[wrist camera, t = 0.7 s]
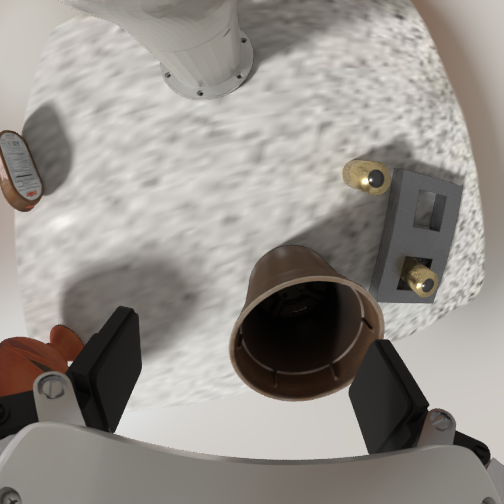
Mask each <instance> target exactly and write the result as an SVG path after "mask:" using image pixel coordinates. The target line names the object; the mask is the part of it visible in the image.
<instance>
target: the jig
mask: <svg viewBox="0 0 504 504" xmlns="http://www.w3.org/2000/svg"><path fill="white" fill-rule="evenodd" d="M462 188H463V187H462V186H459V185H456V184H453V183H450V182H447V181H443V180H440V179H437V178H433V177H430V176H426V175H422V174H419V173H415V172H411V171H407V170H403V169H397V168H394V172H393V179H392V186H391V192H390V198H389V204H388V210H387V215H386V220H385V225H384V230H383V235H382V240H381V244H380V249H379V253H378V257H377V262H376V266H375V270H374V274H373V278H372V281H371V285H370V289H369V293H370V294H371V295H372V296H373V297H374V298H375V300H376V301H377V302H387V303H433V302H434V299H435V296H436V293H437V290H438V287H439V284H440V281H441V278H442V275H443V271H444V268H445V265H446V261H447V258H448V254H449V250H450V246H451V242H452V238H453V234H454V230H455V225H456V221H457V216H458V211H459V206H460V200H461V194H462ZM419 189H420V190H424V191H428V192H432V193H436V197H435V203H434V208H433V214H432V219H431V223H430V227H428V226H422V225H417V224H413V222H414V217H415V212H416V206H417V201H418V195H419ZM414 257H420V258H422V260H421V263H420V262H419V261H418V260H416V259H415V258H414ZM400 278H401V279H402V280H403V281H404V282H405V283H398V282H399V279H400Z"/></svg>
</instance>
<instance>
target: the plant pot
mask: <svg viewBox="0 0 504 504" xmlns="http://www.w3.org/2000/svg"><path fill="white" fill-rule="evenodd" d="M300 288H303V291H302V292H299V289H300ZM284 294H287V297H285V298H284V297H283V295H284ZM262 300H264V302H261V301H262ZM304 306H306V307H307V309H305V310H303V311H300V312H297V313H292V312H293V311H294V310H299V309H301V308H302V307H304ZM383 338H384V318H383V314H382V311H381V308H380V306H379V304H378V303H377V301H376V300H375V298H374V297H373V296H372V295H371V294H370V293H369V292H368V291H367V290H366V289H364V288H363V287H362V286H360V285H359V284H357V283H355V282H353V281H351V280H349V279H347V278H346V277H344V276H342V275H340V274H338V273H337V272H336V271H335V270H334V269H333V268H332V267H331V266H330V265H329V264H328V263H327V262H326V261H324V260H323V259H322V257H321V256H320V255H318V254H317V253H316V252H314V251H312V250H310V249H308V248H305V247H302V246H297V245H289V246H283V247H279V248H276V249H274V250H272V251H270V252H268V253H267V254H265V255H264V256H263V257H262V258H261V259H260V260H259V261H258V262H257V263H256V265H255V267H254V269H253V271H252V273H251V276H250V279H249V286H248V292H247V297H246V302H245V305H244V307H243V309H242V311H241V314H240V316H239V317H238V319H237V321H236V323H235V325H234V327H233V330H232V333H231V337H230V342H229V355H230V360H231V363H232V366H233V368H234V370H235V372H236V374H237V375H238V376H239V378H240V379H241V380H242V381H243V382H244V383H245V384H246V385H247V386H249V387H250V388H251V389H253V390H254V391H256V392H258V393H260V394H262V395H264V396H267V397H269V398H273V399H277V400H282V401H307V400H314V399H317V398H321V397H324V396H327V395H330V394H333V393H335V392H337V391H339V390H341V389H343V388H345V387H347V386H348V385H350V384H351V383H352V382H353V380H354V378H355V376H356V373H357V371H358V369H359V367H360V365H361V363H362V361H363V359H364V356H365V354H366V352H367V350H368V347H369V345H370V344H371V343H372V342H374V341H375V340H376V339H383Z"/></svg>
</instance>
